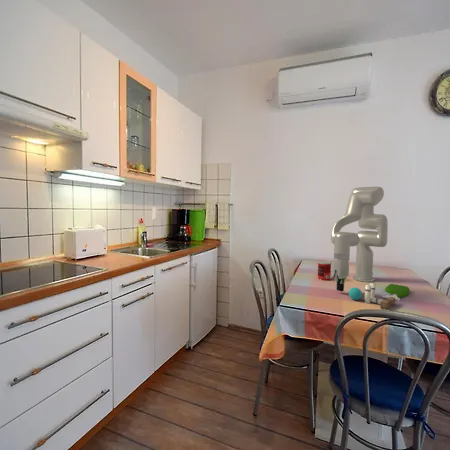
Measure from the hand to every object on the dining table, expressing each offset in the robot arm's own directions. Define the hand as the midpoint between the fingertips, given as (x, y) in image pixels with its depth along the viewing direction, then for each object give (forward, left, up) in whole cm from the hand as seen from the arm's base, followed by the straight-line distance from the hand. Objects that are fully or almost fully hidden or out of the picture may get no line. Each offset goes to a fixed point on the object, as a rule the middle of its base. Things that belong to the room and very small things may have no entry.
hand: (340, 290), depth 138 cm
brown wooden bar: (0, +23, -2) cm, 23 cm away
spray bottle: (-24, +19, -2) cm, 30 cm away
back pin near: (+2, +15, -2) cm, 15 cm away
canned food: (-20, -21, -2) cm, 29 cm away
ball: (+3, +10, +2) cm, 10 cm away
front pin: (0, +12, 0) cm, 12 cm away
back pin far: (-2, +15, -2) cm, 15 cm away
